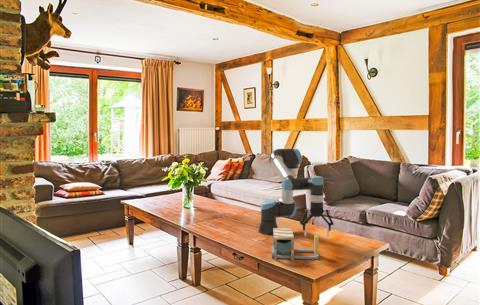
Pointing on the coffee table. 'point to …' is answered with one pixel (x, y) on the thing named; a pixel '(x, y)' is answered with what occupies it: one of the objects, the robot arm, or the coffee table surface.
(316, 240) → the frame with square tube
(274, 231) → the shelf
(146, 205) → the coffee table surface
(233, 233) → the coffee table surface
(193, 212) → the coffee table surface
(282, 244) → the flower pot
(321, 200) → the robot arm
